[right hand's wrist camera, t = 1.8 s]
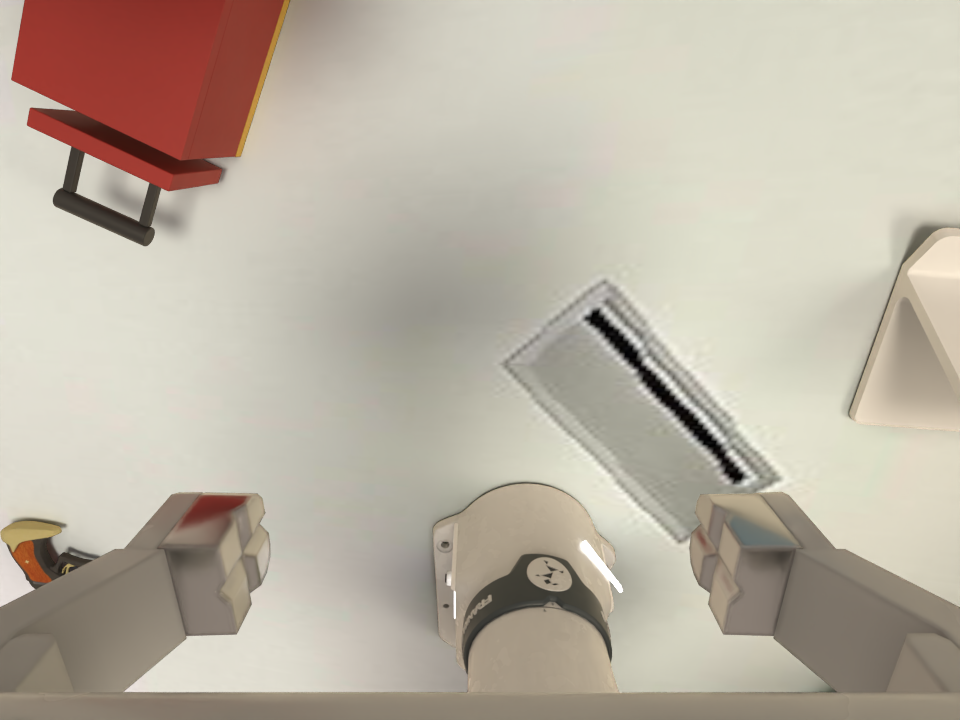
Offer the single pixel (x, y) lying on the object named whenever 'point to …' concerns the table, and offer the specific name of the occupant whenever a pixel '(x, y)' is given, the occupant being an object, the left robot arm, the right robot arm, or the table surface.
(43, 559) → the toy gun
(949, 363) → the tablet stand
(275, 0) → the red drawer cabinet
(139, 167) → the drawer
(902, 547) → the table surface
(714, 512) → the right robot arm
